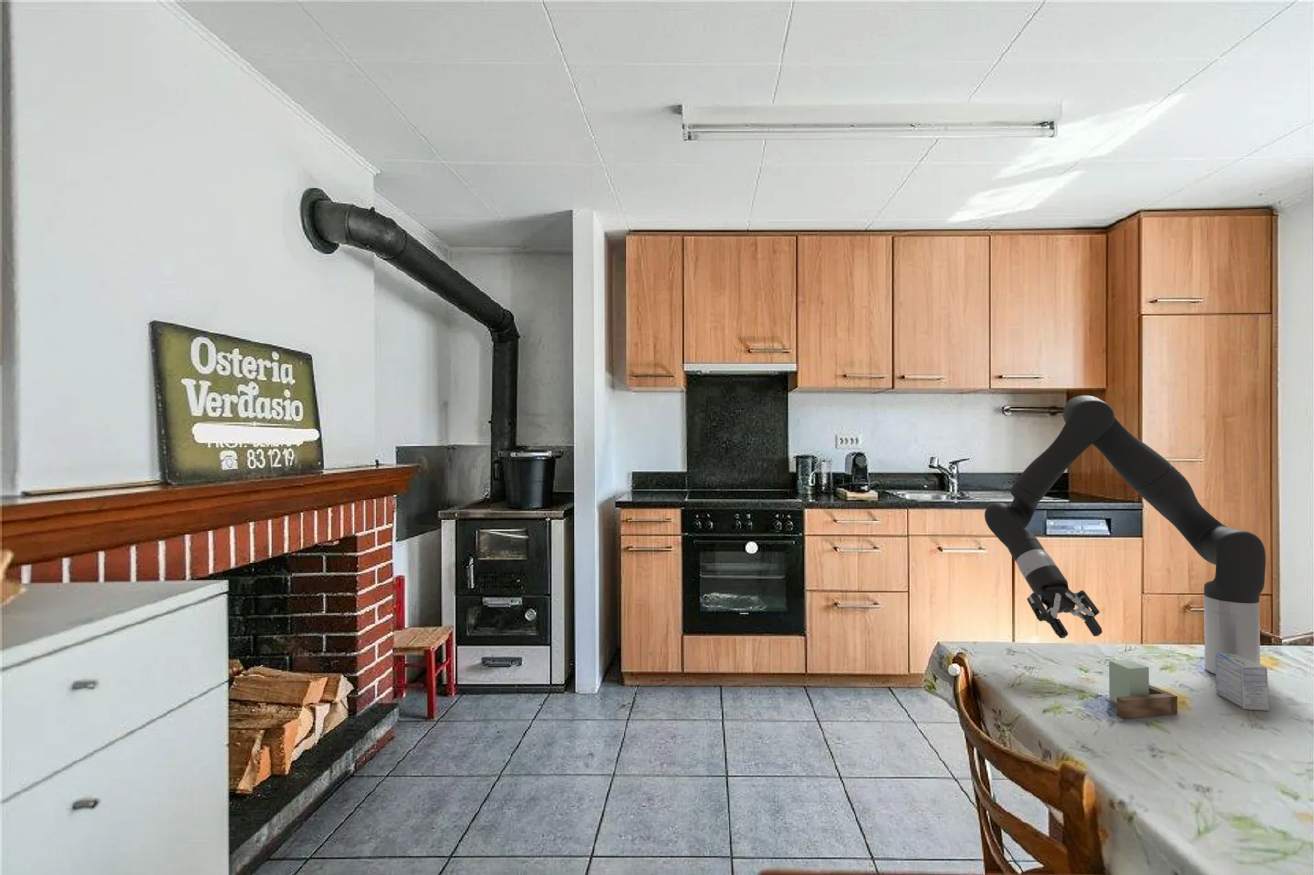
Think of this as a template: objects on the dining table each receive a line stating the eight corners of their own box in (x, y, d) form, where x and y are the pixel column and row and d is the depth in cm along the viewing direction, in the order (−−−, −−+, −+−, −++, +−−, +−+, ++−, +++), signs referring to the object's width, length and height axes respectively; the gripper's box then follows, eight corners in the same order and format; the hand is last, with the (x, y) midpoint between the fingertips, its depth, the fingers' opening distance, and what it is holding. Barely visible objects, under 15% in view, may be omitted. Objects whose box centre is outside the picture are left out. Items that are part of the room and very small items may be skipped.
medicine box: (1269, 711, 119) (1269, 667, 119) (1242, 709, 120) (1242, 666, 120) (1239, 695, 127) (1239, 653, 127) (1214, 693, 128) (1214, 652, 128)
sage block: (1128, 697, 125) (1127, 659, 125) (1149, 707, 121) (1148, 667, 121) (1109, 699, 124) (1109, 660, 124) (1129, 709, 120) (1129, 668, 120)
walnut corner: (1121, 689, 130) (1121, 673, 130) (1177, 714, 118) (1177, 696, 118) (1072, 693, 128) (1072, 676, 128) (1124, 718, 116) (1123, 700, 116)
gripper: (1022, 565, 141) (1063, 629, 130) (1076, 562, 143) (1120, 625, 132) (1006, 582, 147) (1043, 645, 135) (1058, 580, 149) (1099, 641, 137)
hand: (1081, 635), depth 134 cm, fingers open, 8 cm apart
